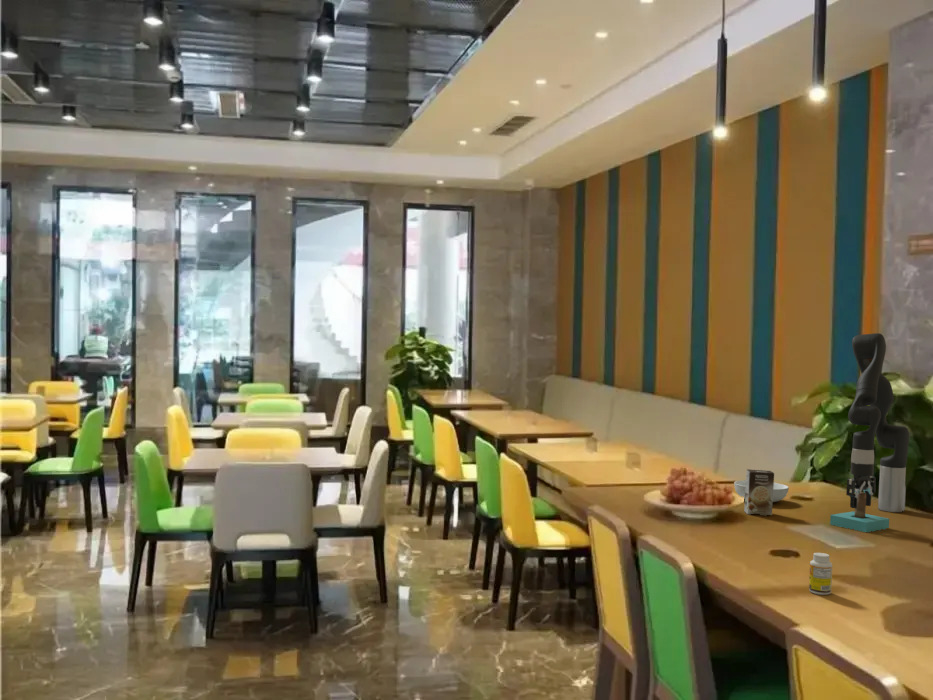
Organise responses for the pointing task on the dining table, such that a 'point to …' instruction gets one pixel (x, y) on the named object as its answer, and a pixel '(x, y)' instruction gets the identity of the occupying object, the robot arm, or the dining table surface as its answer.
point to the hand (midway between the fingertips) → (860, 506)
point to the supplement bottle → (820, 574)
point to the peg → (861, 506)
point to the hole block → (859, 522)
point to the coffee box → (759, 492)
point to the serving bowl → (778, 490)
